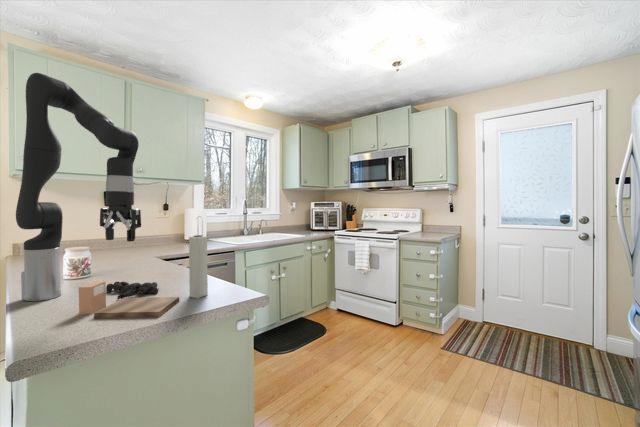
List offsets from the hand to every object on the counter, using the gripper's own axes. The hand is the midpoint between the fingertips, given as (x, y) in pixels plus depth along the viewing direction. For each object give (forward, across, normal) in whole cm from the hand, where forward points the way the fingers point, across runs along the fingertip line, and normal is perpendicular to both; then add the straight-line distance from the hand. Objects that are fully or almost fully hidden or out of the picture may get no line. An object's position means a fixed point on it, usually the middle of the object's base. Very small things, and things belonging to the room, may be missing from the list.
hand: (120, 240), depth 96 cm
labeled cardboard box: (+21, -3, -7) cm, 22 cm away
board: (+21, +10, -2) cm, 23 cm away
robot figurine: (+22, -7, +12) cm, 26 cm away
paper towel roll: (+21, +18, +14) cm, 31 cm away
